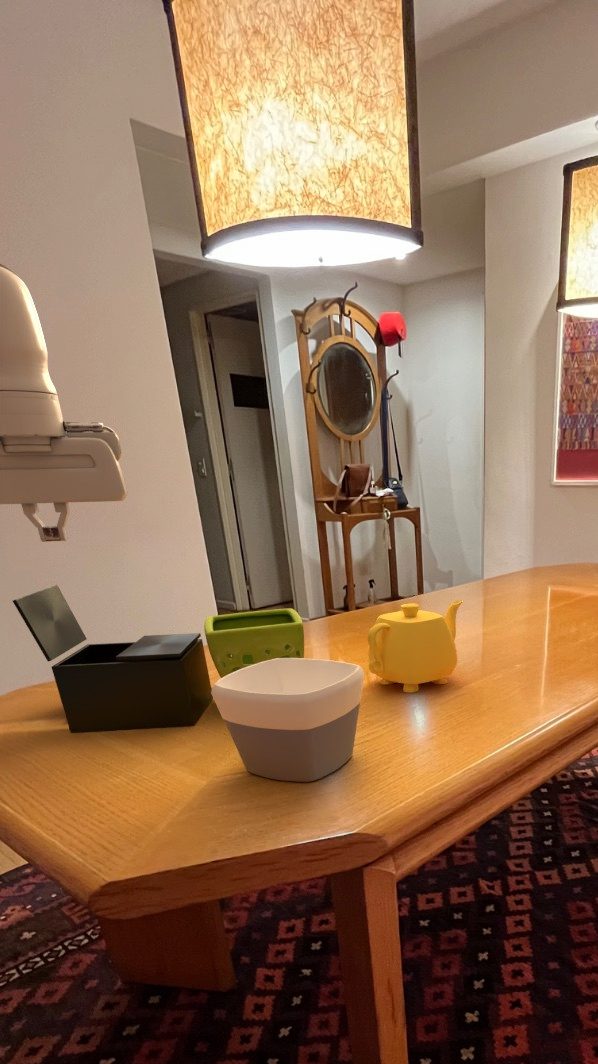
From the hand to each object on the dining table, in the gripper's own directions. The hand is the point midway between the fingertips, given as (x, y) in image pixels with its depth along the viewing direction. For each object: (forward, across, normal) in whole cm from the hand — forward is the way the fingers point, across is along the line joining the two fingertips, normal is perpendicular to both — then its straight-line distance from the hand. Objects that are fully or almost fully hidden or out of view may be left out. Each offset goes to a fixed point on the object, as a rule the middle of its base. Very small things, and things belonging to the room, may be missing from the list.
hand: (54, 541), depth 89 cm
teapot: (+24, -50, 0) cm, 55 cm away
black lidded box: (+25, -6, +1) cm, 25 cm away
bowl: (+25, -26, +29) cm, 46 cm away
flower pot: (+25, -24, +1) cm, 34 cm away
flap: (+10, +3, -1) cm, 11 cm away
